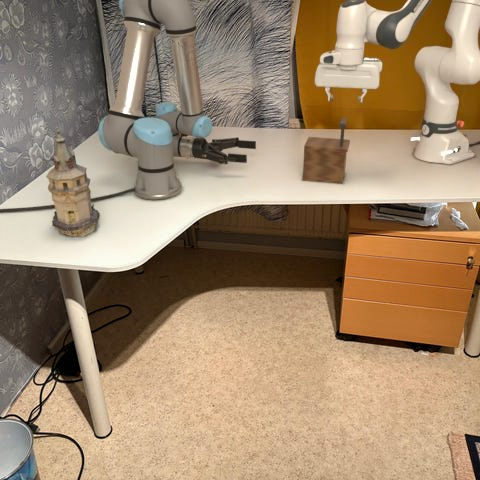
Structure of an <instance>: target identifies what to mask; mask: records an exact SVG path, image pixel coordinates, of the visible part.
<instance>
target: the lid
mask: <svg viewBox="0 0 480 480" xmlns="http://www.w3.org/2000/svg"><path fill="white" fill-rule="evenodd" d="M347 119H348V118H347V117H342V118H341V119H340V123H339V128H340V137H339V138H334V137H333V138H332V137H319V136H308V137H307V139H306V142H305V144H304V146H303V147H304V148H303V150H304V149H313V150H326V151H339V152H347V153H348V152H349V147H350V144H351V139H346V138H345V129H346V127H347V122H348V120H347ZM344 138H345V139H344Z"/></svg>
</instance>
